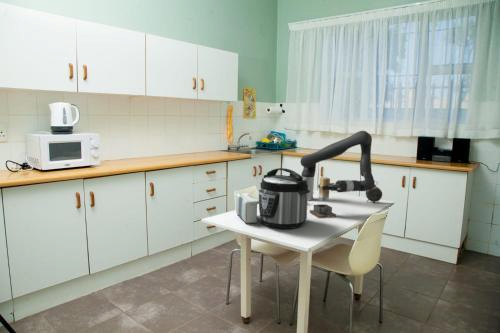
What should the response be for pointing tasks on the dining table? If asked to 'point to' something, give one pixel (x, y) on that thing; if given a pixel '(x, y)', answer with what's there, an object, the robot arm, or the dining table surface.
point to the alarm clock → (374, 194)
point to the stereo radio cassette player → (247, 207)
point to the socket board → (322, 211)
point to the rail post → (324, 193)
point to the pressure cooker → (283, 199)
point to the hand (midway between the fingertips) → (320, 187)
